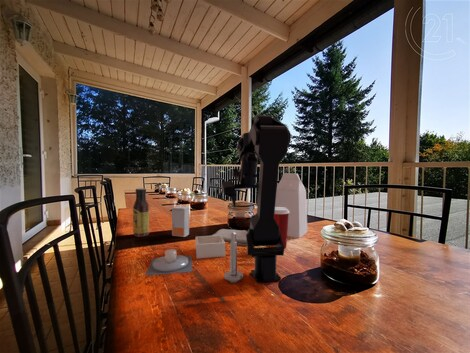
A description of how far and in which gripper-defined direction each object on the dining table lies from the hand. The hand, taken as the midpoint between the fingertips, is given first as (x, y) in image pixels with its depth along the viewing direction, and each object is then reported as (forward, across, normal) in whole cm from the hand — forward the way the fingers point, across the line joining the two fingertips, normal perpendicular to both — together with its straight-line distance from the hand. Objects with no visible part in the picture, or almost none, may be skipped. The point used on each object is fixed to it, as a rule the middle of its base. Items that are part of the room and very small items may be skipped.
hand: (245, 205), depth 95 cm
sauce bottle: (+19, +41, -12) cm, 47 cm away
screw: (-1, +13, +35) cm, 37 cm away
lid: (+3, +28, +21) cm, 36 cm away
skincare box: (+18, +25, -8) cm, 32 cm away
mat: (+4, +28, +22) cm, 36 cm away
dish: (+8, +16, +15) cm, 23 cm away
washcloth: (+15, +4, +2) cm, 16 cm away
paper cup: (+10, -9, +14) cm, 19 cm away
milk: (+17, -22, -1) cm, 28 cm away
